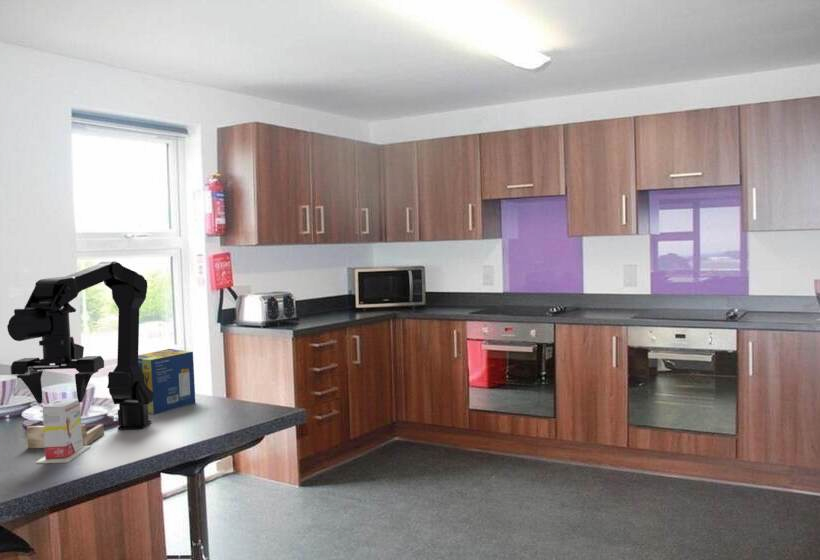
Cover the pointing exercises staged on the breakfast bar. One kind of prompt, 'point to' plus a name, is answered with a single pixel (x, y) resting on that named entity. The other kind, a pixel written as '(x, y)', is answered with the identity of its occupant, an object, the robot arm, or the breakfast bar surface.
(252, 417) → the breakfast bar surface
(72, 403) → the ink box
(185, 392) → the protein box
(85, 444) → the shelf bay
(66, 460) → the coaster pad
